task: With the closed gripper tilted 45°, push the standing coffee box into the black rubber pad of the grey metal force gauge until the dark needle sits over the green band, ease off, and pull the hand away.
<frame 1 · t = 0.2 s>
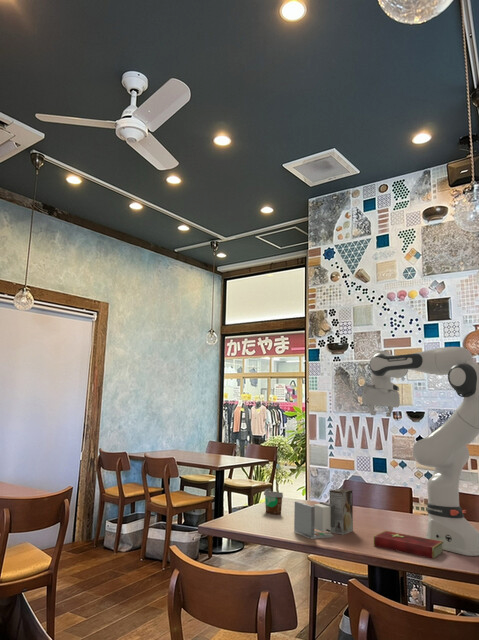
hand: (380, 416, 209), 47 cm above the table, tool pointing down, fingers open, 8 cm apart
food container: (270, 513, 215), on the table
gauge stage: (323, 517, 181), point 6 cm above the table, slide at 0.0 cm
hardcover book: (408, 550, 163), on the table
coffee box: (341, 532, 184), on the table
gauge housing: (317, 534, 179), on the table
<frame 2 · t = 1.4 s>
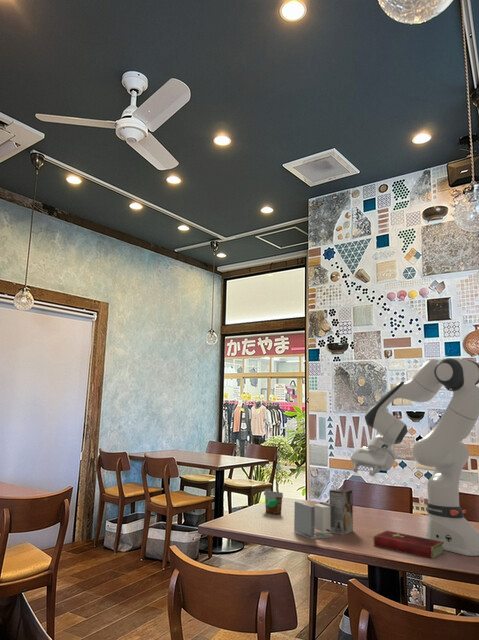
hand: (362, 473, 195), 23 cm above the table, tool tilted 45°, fingers open, 8 cm apart
nothing on the table moved.
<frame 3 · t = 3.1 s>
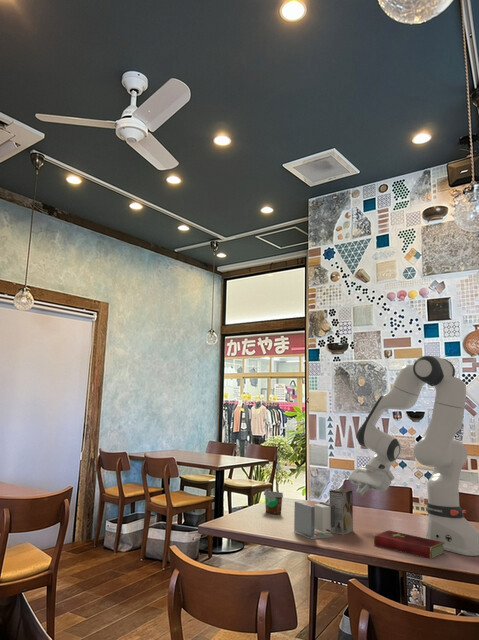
hand: (358, 493, 193), 14 cm above the table, tool tilted 45°, fingers closed
nothing on the table moved.
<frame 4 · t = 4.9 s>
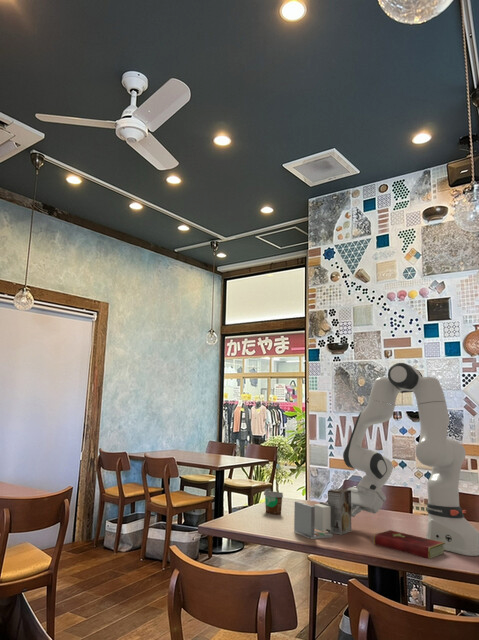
hand: (350, 515, 188), 6 cm above the table, tool tilted 45°, fingers closed
coffee box: (339, 532, 184), on the table, touching gripper
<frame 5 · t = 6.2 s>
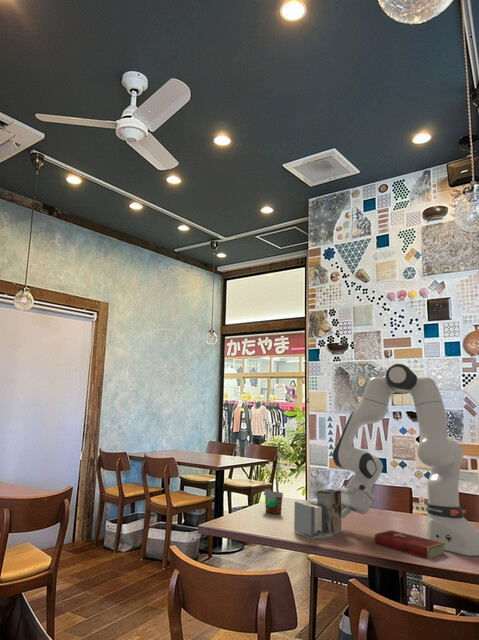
hand: (339, 516, 186), 6 cm above the table, tool tilted 45°, fingers closed
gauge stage: (314, 517, 179), point 6 cm above the table, slide at 4.4 cm
coffee box: (329, 533, 182), on the table, touching gauge housing, gripper
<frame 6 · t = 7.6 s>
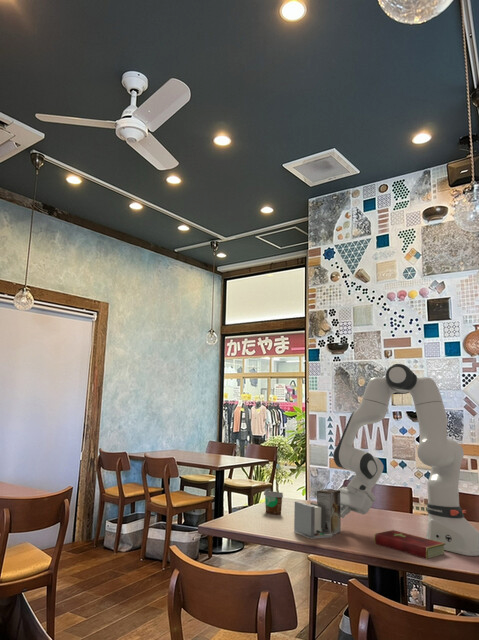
hand: (339, 516, 186), 6 cm above the table, tool tilted 45°, fingers closed, pressing on coffee box
coffee box: (328, 533, 182), on the table, touching gauge housing, gripper
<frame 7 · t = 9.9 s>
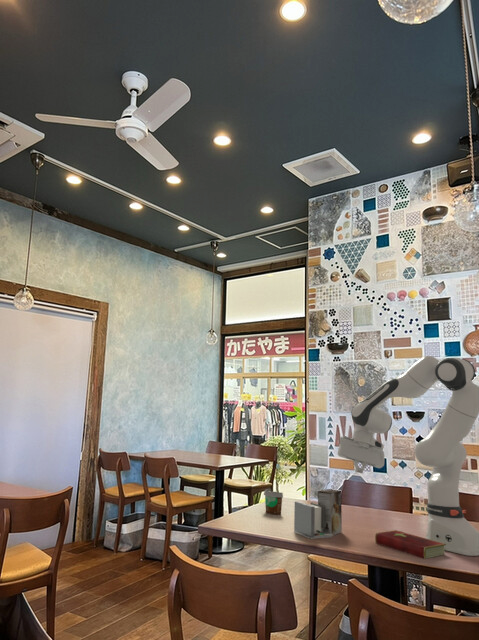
hand: (359, 472, 194), 23 cm above the table, tool tilted 20°, fingers closed
coffee box: (329, 533, 182), on the table
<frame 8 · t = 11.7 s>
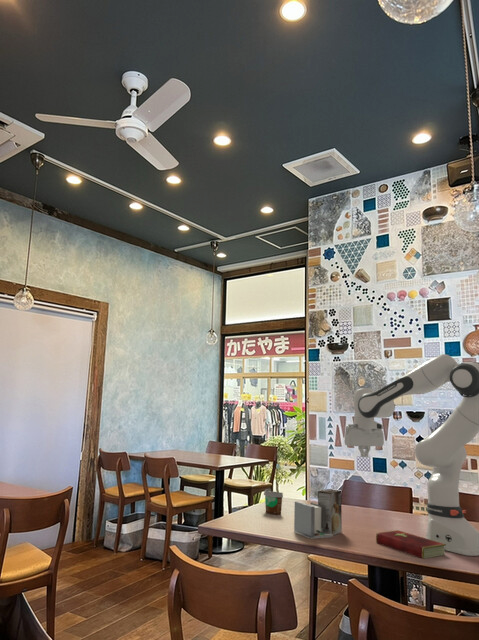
hand: (364, 456, 199), 29 cm above the table, tool pointing down, fingers closed
at the end: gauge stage slide at 4.7 cm; coffee box tilted 0°; coffee box inside the target area (0.7 cm from its centre), on the table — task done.
